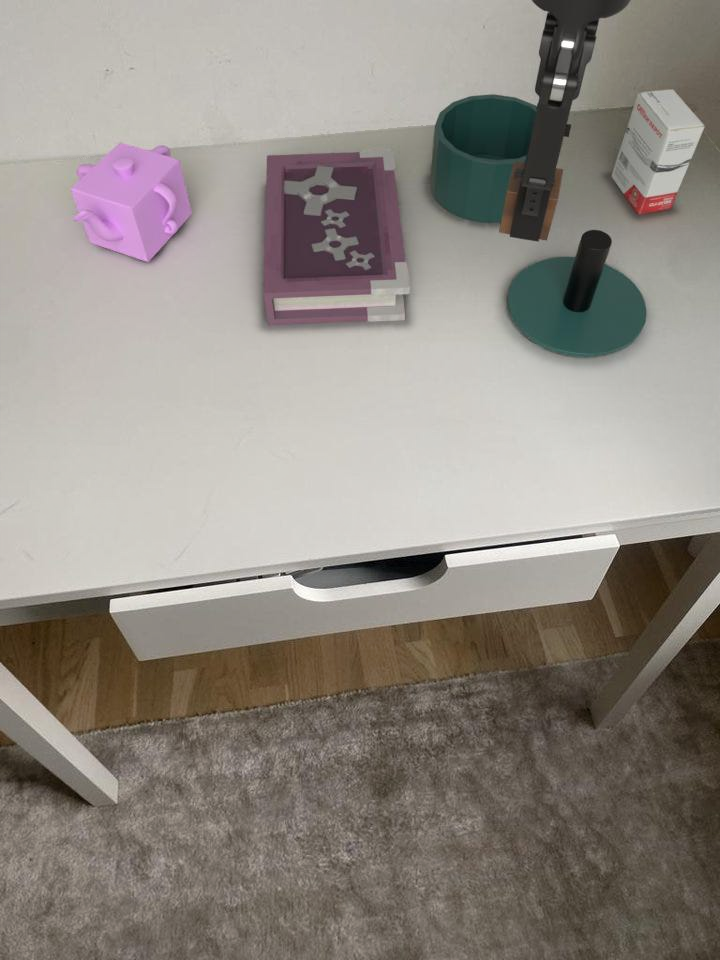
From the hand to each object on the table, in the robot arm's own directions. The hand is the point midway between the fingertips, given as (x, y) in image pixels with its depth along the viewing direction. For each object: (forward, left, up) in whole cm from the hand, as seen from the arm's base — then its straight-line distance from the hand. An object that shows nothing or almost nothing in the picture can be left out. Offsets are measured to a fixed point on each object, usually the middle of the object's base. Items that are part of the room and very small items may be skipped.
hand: (528, 218), depth 72 cm
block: (0, 0, 0) cm, 0 cm away
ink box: (-13, -31, -17) cm, 38 cm away
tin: (+7, -27, -17) cm, 33 cm away
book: (+23, -10, -17) cm, 30 cm away
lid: (-7, -7, -16) cm, 20 cm away
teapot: (+48, -6, -17) cm, 51 cm away
